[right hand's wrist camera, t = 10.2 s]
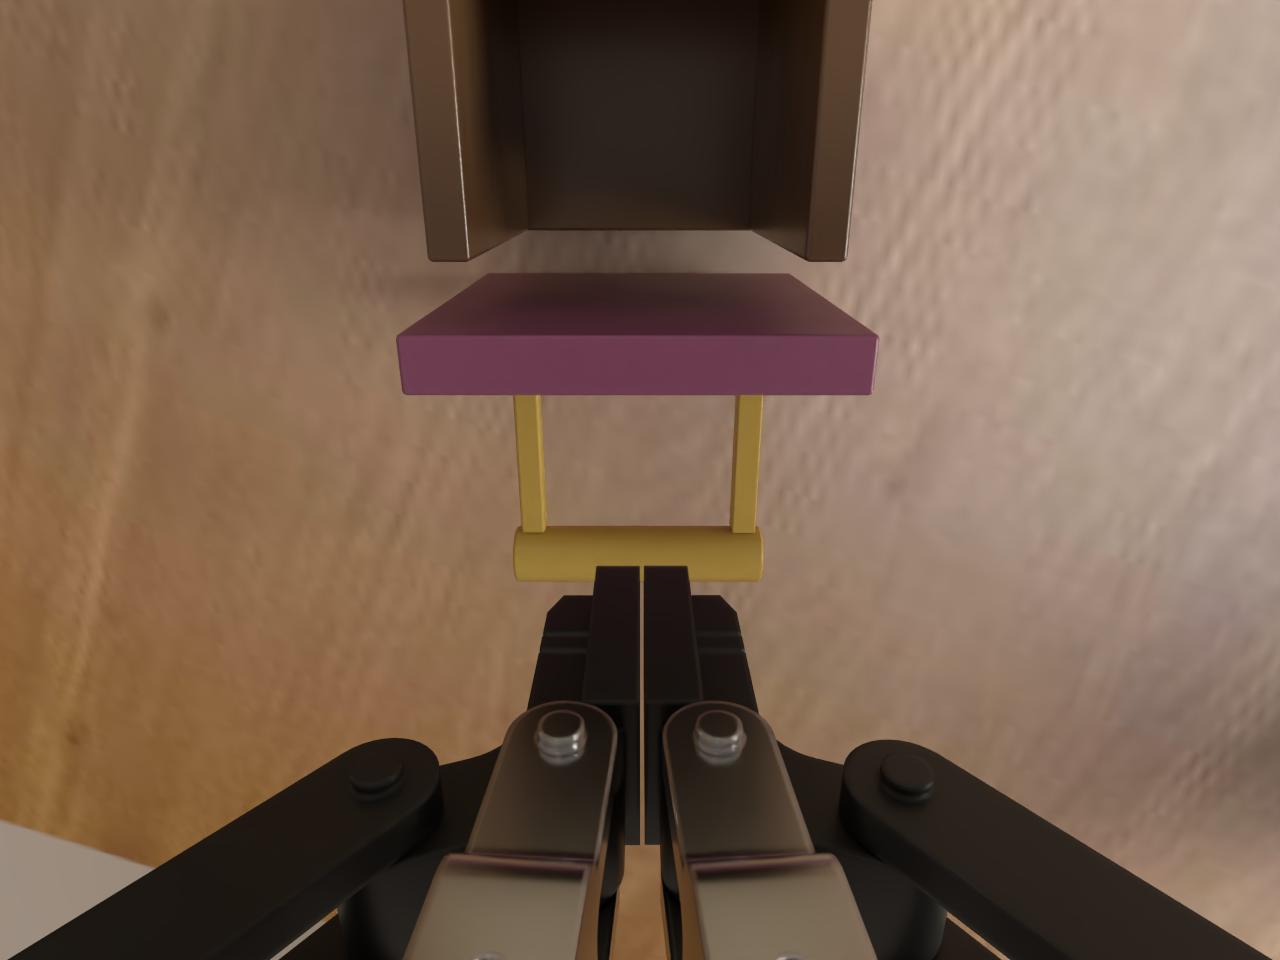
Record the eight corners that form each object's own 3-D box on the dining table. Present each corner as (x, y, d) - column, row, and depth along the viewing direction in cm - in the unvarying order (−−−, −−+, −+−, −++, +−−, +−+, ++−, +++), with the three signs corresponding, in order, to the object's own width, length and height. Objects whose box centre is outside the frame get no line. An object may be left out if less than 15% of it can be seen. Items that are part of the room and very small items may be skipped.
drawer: (775, 493, 26) (843, 656, 17) (502, 493, 26) (432, 656, 17) (855, -629, 16) (1103, -1548, 8) (421, -629, 16) (169, -1546, 8)
